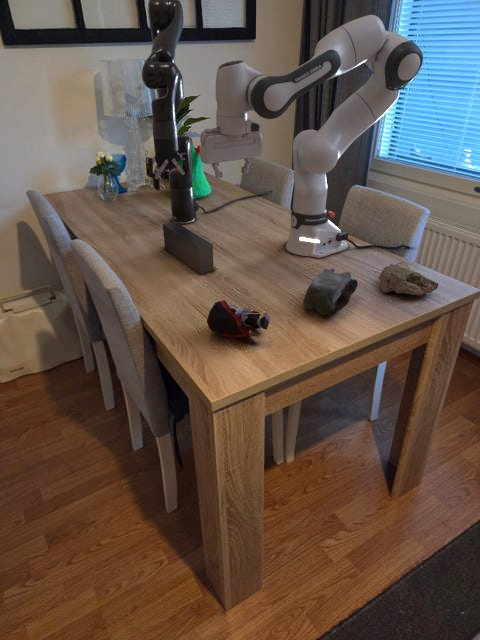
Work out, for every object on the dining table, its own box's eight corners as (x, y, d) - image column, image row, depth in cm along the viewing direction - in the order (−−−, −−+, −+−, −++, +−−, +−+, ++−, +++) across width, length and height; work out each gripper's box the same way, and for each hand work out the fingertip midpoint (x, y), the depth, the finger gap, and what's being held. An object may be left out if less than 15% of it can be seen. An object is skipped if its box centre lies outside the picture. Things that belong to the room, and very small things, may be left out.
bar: (164, 248, 160) (162, 223, 155) (176, 245, 162) (175, 221, 157) (200, 274, 142) (199, 247, 137) (213, 270, 144) (212, 244, 139)
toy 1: (167, 190, 223) (163, 137, 210) (207, 188, 227) (205, 135, 214) (172, 202, 206) (167, 145, 193) (214, 199, 210) (213, 143, 197)
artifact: (399, 307, 125) (440, 299, 130) (406, 284, 121) (449, 278, 126) (362, 275, 139) (401, 270, 144) (368, 254, 135) (408, 249, 140)
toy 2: (264, 297, 102) (206, 289, 108) (254, 335, 100) (195, 325, 105) (276, 315, 113) (223, 308, 119) (267, 350, 110) (213, 341, 116)
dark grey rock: (338, 325, 116) (342, 298, 112) (298, 314, 120) (300, 288, 116) (357, 296, 130) (361, 271, 126) (321, 287, 134) (323, 263, 130)
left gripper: (149, 139, 132) (154, 194, 141) (191, 135, 139) (194, 187, 148) (139, 136, 138) (145, 188, 146) (180, 132, 144) (183, 182, 153)
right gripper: (206, 131, 120) (207, 182, 127) (266, 124, 130) (264, 173, 137) (194, 127, 124) (197, 178, 132) (253, 122, 134) (252, 169, 141)
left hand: (169, 188), depth 147 cm, fingers open, 8 cm apart
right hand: (232, 175), depth 134 cm, fingers open, 8 cm apart
